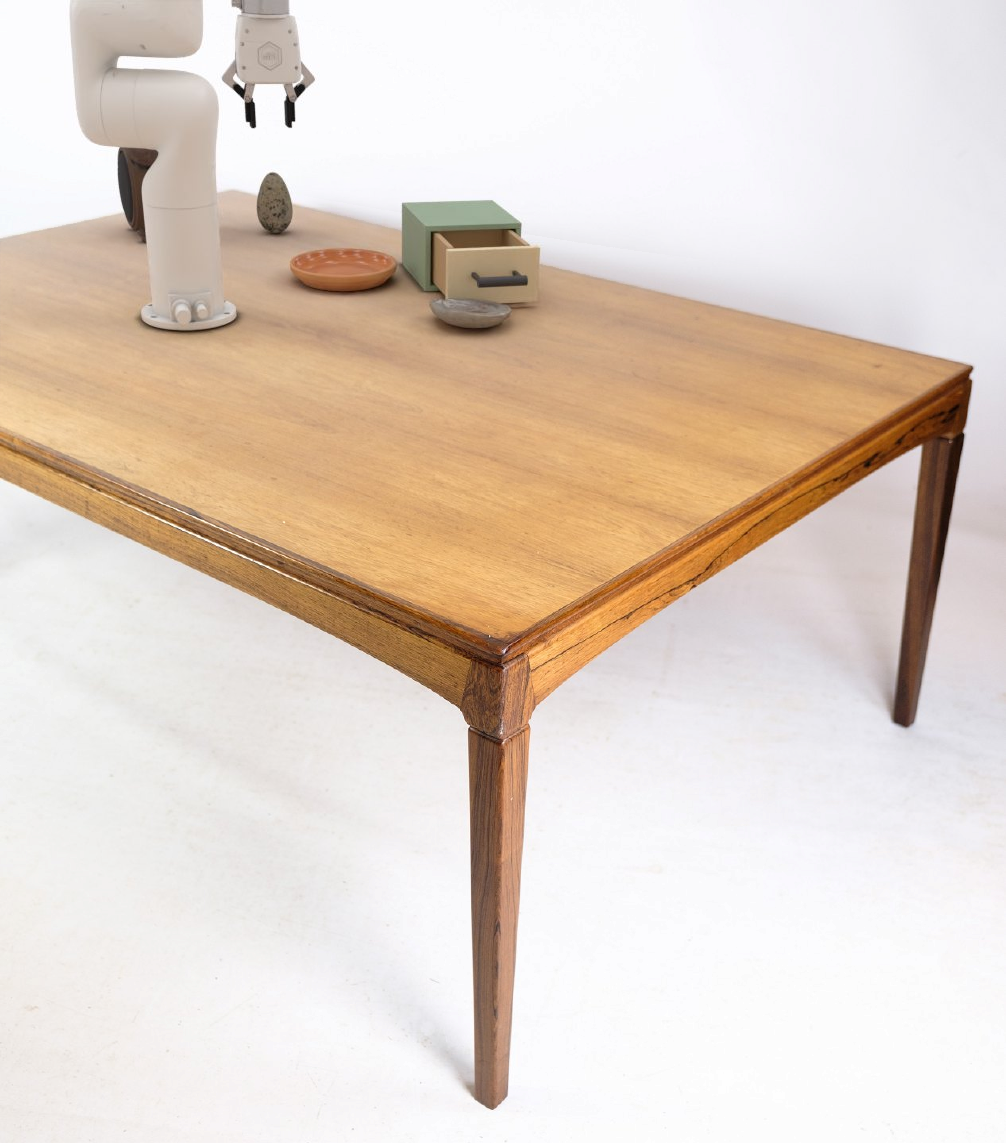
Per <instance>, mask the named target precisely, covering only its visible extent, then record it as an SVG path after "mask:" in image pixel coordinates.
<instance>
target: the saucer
mask: <svg viewBox="0 0 1006 1143" xmlns="http://www.w3.org/2000/svg"><path fill="white" fill-rule="evenodd" d="M397 266H398V261H397V259H396V258H395V257H393V256H392V255H389V254H388V253H384V252H381V251H377V250H372V249H365V248H354V247H353V248H350V247H349V248H348V247H347V248H346V247H344V248H343V247H341V248H340V247H339V248H337V247H336V248H335V247H334V248H324V249H316V250H311V251H307V252H302V253H299V254H297V255H295V256H294V257H292V258H291V259H290V261H289V268H290V272H291V273H292V274H293V275H294V276H295V277H296V278H297V279H298V280H300V281H301V282H302V283H303V284H304V285H305V286H307V287H310V288H313V289H315V290H322V291H329V292H355V291H363V290H370V289H373V288H377V287H379V286H381V285H383V284H384V283H385V282H386V281H387V280H388V279H389V278H391V277H392V276H393V274H394V273H395V272H396V271H397Z"/></svg>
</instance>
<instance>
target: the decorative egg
mask: <svg viewBox="0 0 1006 1143" xmlns="http://www.w3.org/2000/svg"><path fill="white" fill-rule="evenodd" d="M258 189H259V190H258V193H257V199H256V215H257V219H258V221H259V223H260V225H261V226H262V228H263V229H264V230H266V231H267V232H269V233H271V234H280V233H282V232H284V231H285V230H287V229H288V227H289V226H290V225H291V222H292V220H293V213H294V212H293V202H292V197H291V194H290V192H289V189H288V186H287V184H286V182H285V180H284V179H283V178H282V176H281V175H279V173H277V172H274V171H272V172H271V171H270V172H268V173H266V174H265V176H264V178H263V179H262V181H261V184H260V186H259V188H258Z"/></svg>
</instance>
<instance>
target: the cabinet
mask: <svg viewBox="0 0 1006 1143" xmlns="http://www.w3.org/2000/svg"><path fill="white" fill-rule="evenodd" d="M487 229H511V230H512V231H514V232H515V233H516V234H517V235H519V236H520V237H521V238H522V222H521V221H519V219H517V218H516V217H515V216H514V215H512V214H511V213H510V212H508V211H507V210H506V209H504V208H503V207H502V206H500V205H499V204H498V203H497V202H495V201H494V200H493V199H484V200H483V199H482V200H481V199H480V200H450V201H449V200H447V201H446V200H445V201H413V202H412V201H411V202H408V201H407V202H401V265H402V266H403V267H404V269H405V270H406V271H407V272H408V274H410V276H412V278H413V279H414V280H415V281H416V283H417V284H418V285H419V286H420V288H422V289H423V291H424V292H434V291H435V292H441V290H440V289H439V288H438V287H437V286H436V285H435V284H434V283H433V281H432V280H431V279H430V263H431V231H458V230H487Z"/></svg>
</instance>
